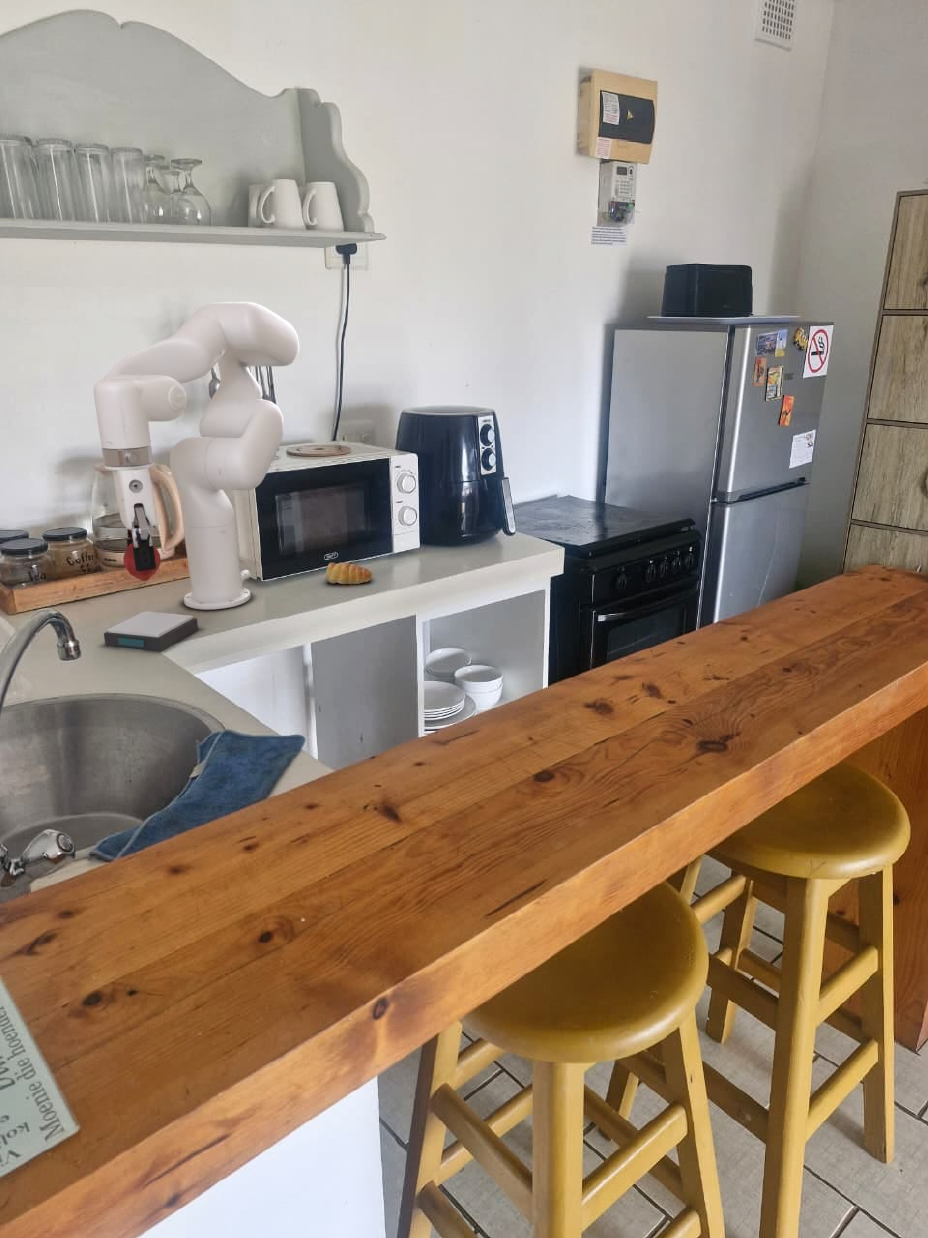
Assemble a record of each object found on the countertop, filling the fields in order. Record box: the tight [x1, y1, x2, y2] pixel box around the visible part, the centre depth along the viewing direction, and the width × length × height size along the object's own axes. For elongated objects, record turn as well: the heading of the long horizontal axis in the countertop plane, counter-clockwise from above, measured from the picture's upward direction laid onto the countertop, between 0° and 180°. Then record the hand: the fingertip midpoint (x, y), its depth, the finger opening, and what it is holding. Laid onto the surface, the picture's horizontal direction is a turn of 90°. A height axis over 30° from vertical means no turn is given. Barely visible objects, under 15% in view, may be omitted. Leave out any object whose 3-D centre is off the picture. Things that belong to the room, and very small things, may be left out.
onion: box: [123, 542, 162, 582], centre depth 146 cm, size 6×6×8 cm
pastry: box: [324, 562, 373, 585], centre depth 181 cm, size 9×7×4 cm
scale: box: [103, 610, 199, 652], centre depth 150 cm, size 11×11×3 cm
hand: (142, 564), depth 146 cm, fingers closed on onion, 5 cm apart
